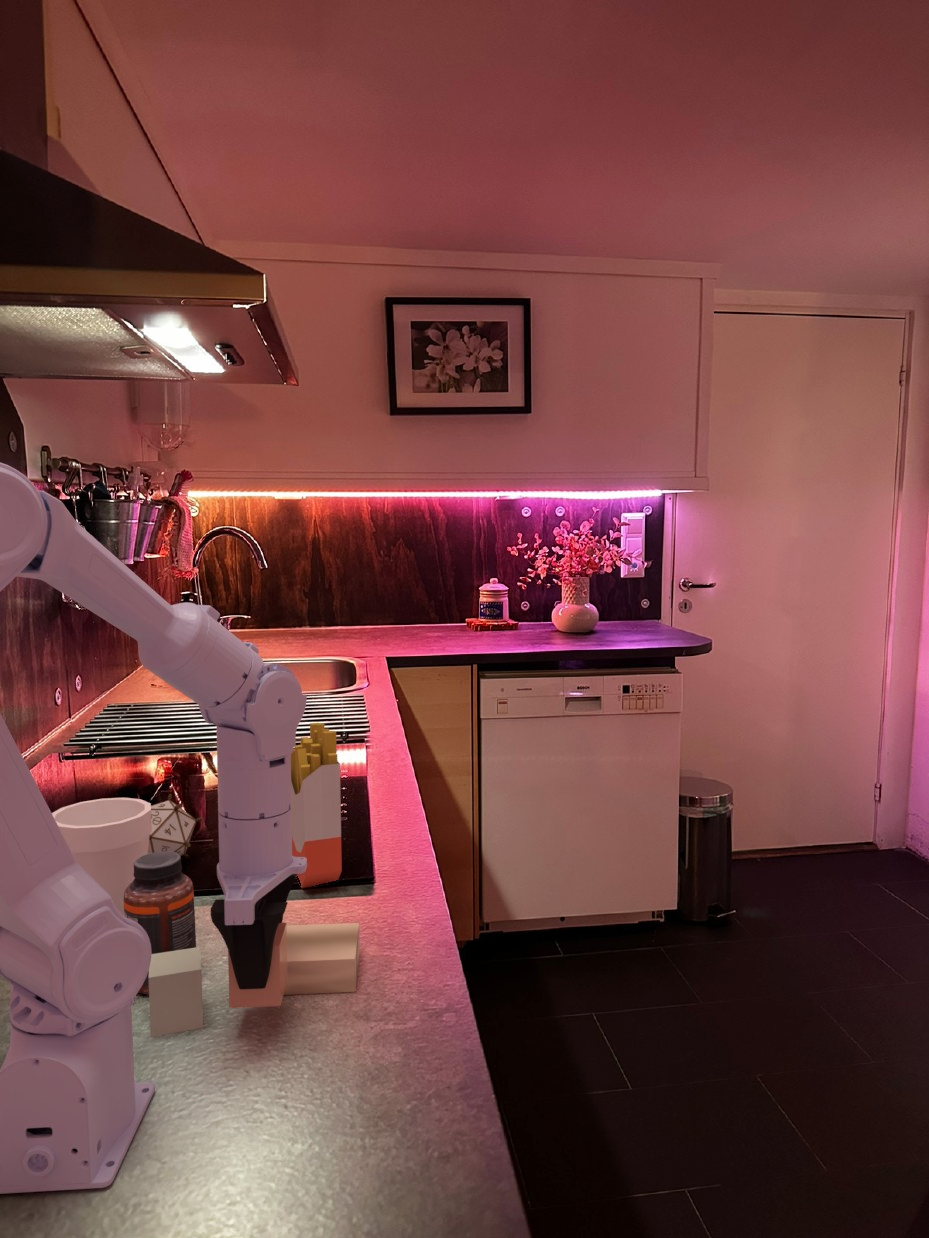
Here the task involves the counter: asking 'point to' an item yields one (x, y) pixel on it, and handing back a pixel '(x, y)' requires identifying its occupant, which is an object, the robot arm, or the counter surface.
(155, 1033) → the beige block
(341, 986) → the birch slab
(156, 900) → the supplement bottle
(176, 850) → the game die
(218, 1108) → the counter surface
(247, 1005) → the terracotta block
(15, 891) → the robot arm
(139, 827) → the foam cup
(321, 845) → the french fries container
